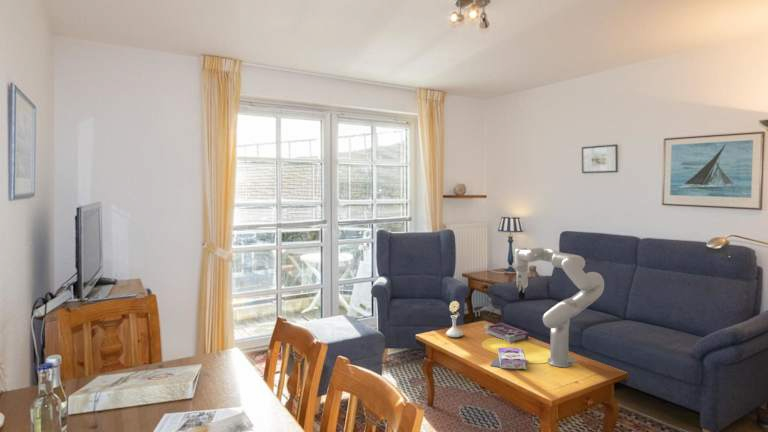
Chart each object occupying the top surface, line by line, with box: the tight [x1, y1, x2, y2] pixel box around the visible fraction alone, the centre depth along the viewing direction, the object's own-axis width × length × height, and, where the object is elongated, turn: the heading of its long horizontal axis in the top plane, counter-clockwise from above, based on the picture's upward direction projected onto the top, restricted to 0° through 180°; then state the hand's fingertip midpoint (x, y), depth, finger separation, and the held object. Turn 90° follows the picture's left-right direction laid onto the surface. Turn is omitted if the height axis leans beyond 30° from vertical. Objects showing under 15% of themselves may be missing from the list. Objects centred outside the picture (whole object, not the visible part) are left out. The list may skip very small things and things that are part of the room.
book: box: [483, 322, 529, 344], centre depth 299 cm, size 25×16×5 cm, turn 27°
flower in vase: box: [445, 300, 464, 338], centre depth 301 cm, size 13×11×25 cm
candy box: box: [497, 347, 527, 370], centre depth 251 cm, size 14×6×16 cm
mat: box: [489, 357, 517, 371], centre depth 251 cm, size 14×12×1 cm
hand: (521, 298), depth 266 cm, fingers closed
